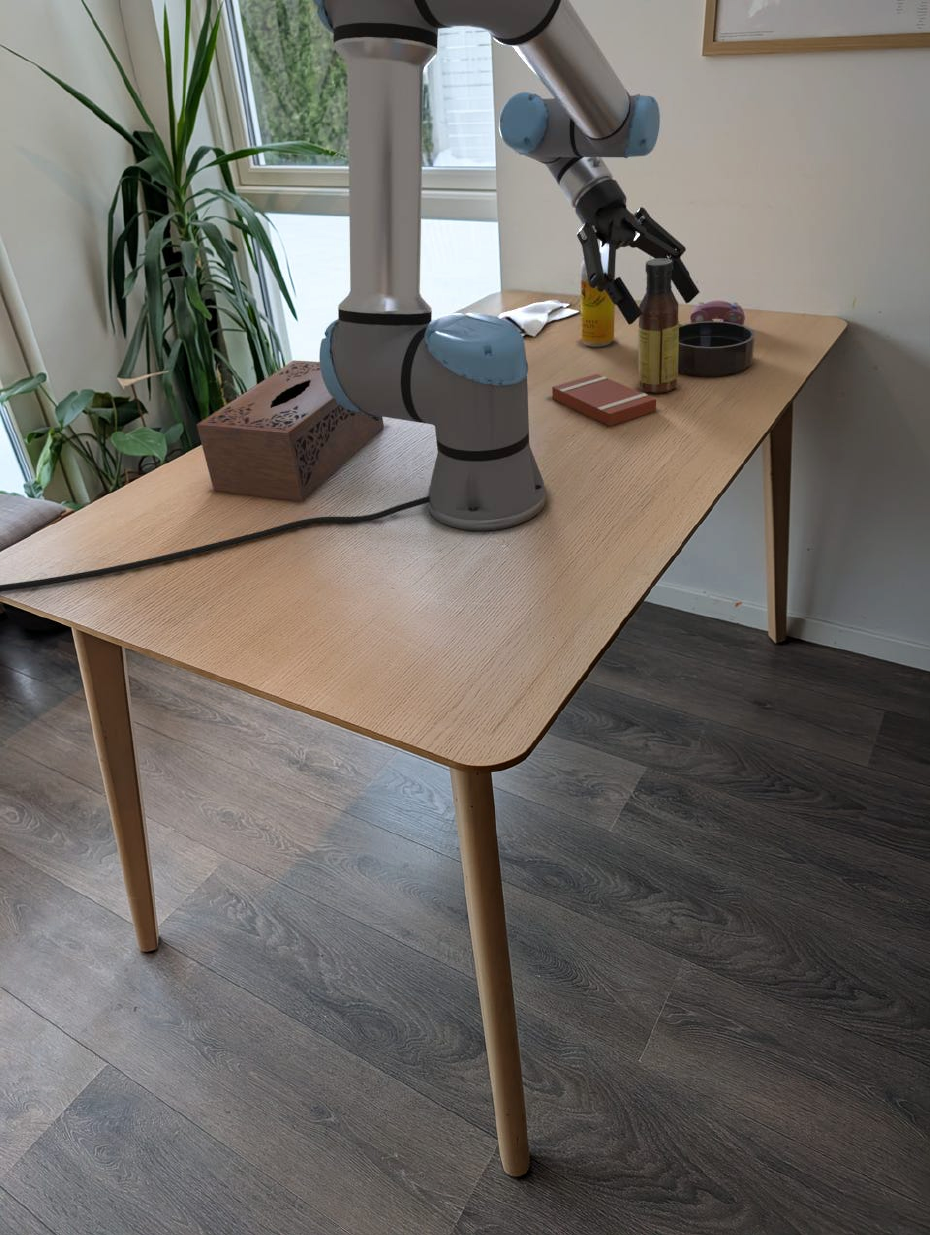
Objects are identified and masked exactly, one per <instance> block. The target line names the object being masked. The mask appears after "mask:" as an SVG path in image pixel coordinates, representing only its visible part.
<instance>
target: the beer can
mask: <svg viewBox="0 0 930 1235" xmlns="http://www.w3.org/2000/svg"><path fill="white" fill-rule="evenodd" d="M600 256H601V254H600ZM615 279H616V276H615V277H614V280H615ZM615 308H616V305H615V304H614V303H613V302H612V300H611V299H610V297H609V295H608V294H607V292H606V291H605V289H604V291H603V292H599V291H598V290H597V286H596V287H595V288H592V287H590V285H589V282H588V276H587V271H586V265H585V260H584V257H583V258H582V262H581V265H580V340H581V341H582V342H583V344H584V345H585V346H587V347H595V348H600V347H604V346H608V345H610V344H611V343H612V341H613V340H614V339H615V310H616V309H615Z"/></svg>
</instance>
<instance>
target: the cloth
mask: <svg viewBox="0 0 930 1235" xmlns="http://www.w3.org/2000/svg"><path fill="white" fill-rule="evenodd" d="M569 306H571V305H570V303H567V302H561V301H559V300H558V299H548V300H545V301H542V302H534V303H531V304H528V305H525V306H523V307H519V308H517V309H513V310H508V311H505V312H502V313H500V314H499V315H498V316H497V317H498V318H501V319H503V320H506V321H508V322H509V323H511V324H513V325H514V326H515V327H516V328H517V329H518V330H519V332H520V333H521V334H522V336H523V337H525V336H526V335H528V336H530V337H534V338H535V337H536V336H537V335H538V334H539V333H540V332H541V330H542V329H543V328H544V326H545V325H546V324H548V323H551V322H552V321H557V320H558V321H559V320H561V319H565V318H568V317H570V316H573V315H575V314H578V313H580V311H579V310H576V309H572V308H567V307H569Z"/></svg>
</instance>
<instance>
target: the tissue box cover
mask: <svg viewBox="0 0 930 1235" xmlns="http://www.w3.org/2000/svg"><path fill="white" fill-rule="evenodd" d="M196 428H197V431H198V436H199V440H200V443H201V446H202V450H203V455H204V459H205V462H206V466H207V469H208V470H207V471H208V473H209V478H210V482H211V485H212V489H213V492H220V493H228V494H237V495H244V496H254V497H261V498H267V499H268V498H269V499H277V500H287V501H294V502H301V503H302V502H303V501H305V500H306V499H307V498H308V497H309V496H310V495H311V494H312V493H313V492H314V491H315V490H316V489H318V488H319V487H320V486H322V484H323V483H324V482H325V481H327V480H328V479H329V478H331V476H332V475H333V474H334V473H336V472H337V471H338V470H339V469H340V468H341V467H342V466H343V465H344V464H345V463H346V462H347V461H348V460H350V459H351V458H352V457H353V456H354V455H355V454H356V453H358V452H359V450H361V449H362V448H363V447H364V446H365V445H367V444H368V443H369V442H370V440H372V439H373V438H374V437H375V436H376V435H378V433H379V432H381V431H382V430H383V429H384V428H385V425H384V417H381V416H375V417H371V416H368V415H365V414H362V413H360V412H355V411H351V410H348V409H346V408H344V407H342V406H341V405H339V404H338V403H337V402H336V400H335V399H334V398H333V397H332V396H331V395H330V393H329V392H328V390H327V388H326V386H325V383H324V381H323V378H322V374H321V369H320V361H313V360H312V361H310V360H309V361H308V360H291V361H290V362H289V363H286V364H285V365H284V366H283V367H281V368H280V369H278V370H276V371H275V372H274V373H272V374H270V375H269V376H268V377H266V378H264V379H263V380H262V381H260V382H259V383H257V384H255V385H254V386H252V387H251V388H249V389H248V390H246V391H245V392H244V393H241V394H240V395H239V396H237V397H236V398H234V399H233V400H230V402H228V403H227V404H225V405H224V406H222V407H220V408H219V409H218V410H216V411H215V412H213V413H212V414H210V415H209V416H207V417H206V418H204V419H202V420H201V421H199V422H197V423H196Z"/></svg>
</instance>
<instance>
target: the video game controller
mask: <svg viewBox="0 0 930 1235" xmlns="http://www.w3.org/2000/svg"><path fill="white" fill-rule="evenodd" d="M714 320H719V322H730V323H736V324H740V325H743V326H744V325H745V324H744V323H745V320H746V317H745V312H744V309H743V308H742V306H741V305H739V304H738V302H733V303H731V302H728V301H724V300H711V301H708V302H706V303H705V302H698V304H697V305H695V306H694V307H693V308H692V309H691V312H690V315H689V323H695V322H705V321H714Z"/></svg>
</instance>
